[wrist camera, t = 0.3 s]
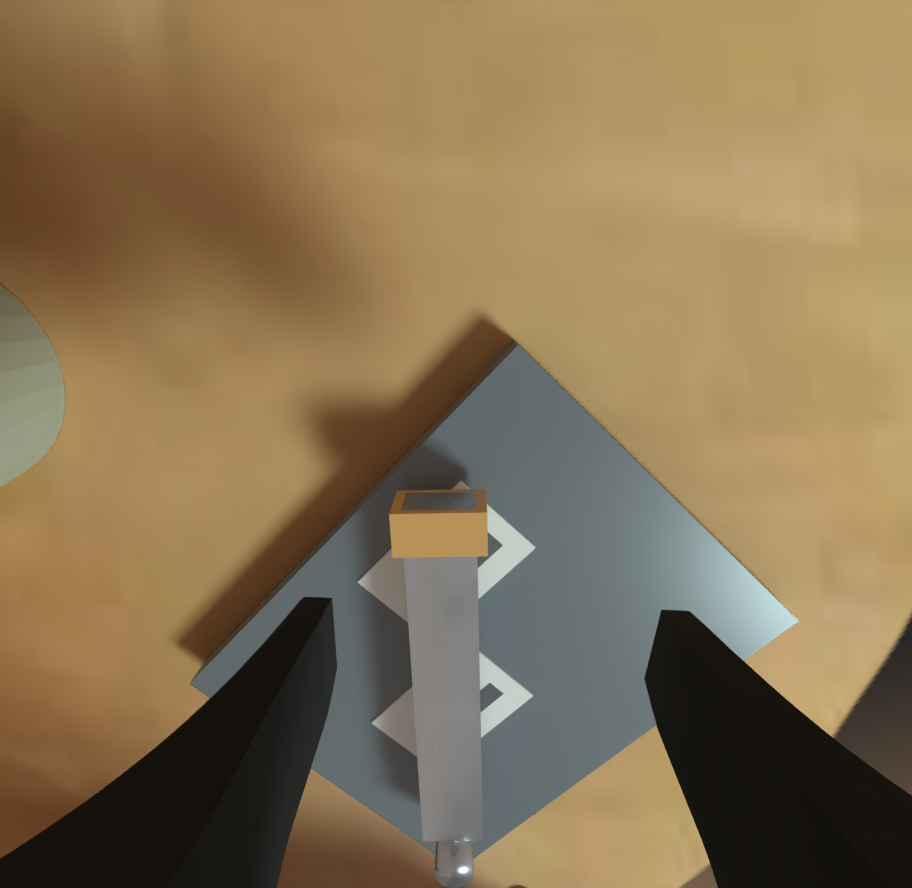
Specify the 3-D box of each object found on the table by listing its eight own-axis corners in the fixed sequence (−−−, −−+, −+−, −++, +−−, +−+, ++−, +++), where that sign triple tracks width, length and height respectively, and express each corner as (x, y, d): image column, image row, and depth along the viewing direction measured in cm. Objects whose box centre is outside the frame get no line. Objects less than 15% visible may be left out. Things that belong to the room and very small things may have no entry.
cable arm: (490, 801, 23) (491, 847, 22) (418, 801, 24) (413, 847, 22) (485, 488, 19) (487, 512, 17) (397, 490, 19) (389, 514, 17)
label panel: (458, 838, 27) (456, 943, 23) (205, 659, 24) (149, 741, 20) (777, 598, 23) (850, 674, 18) (514, 340, 20) (527, 357, 15)
